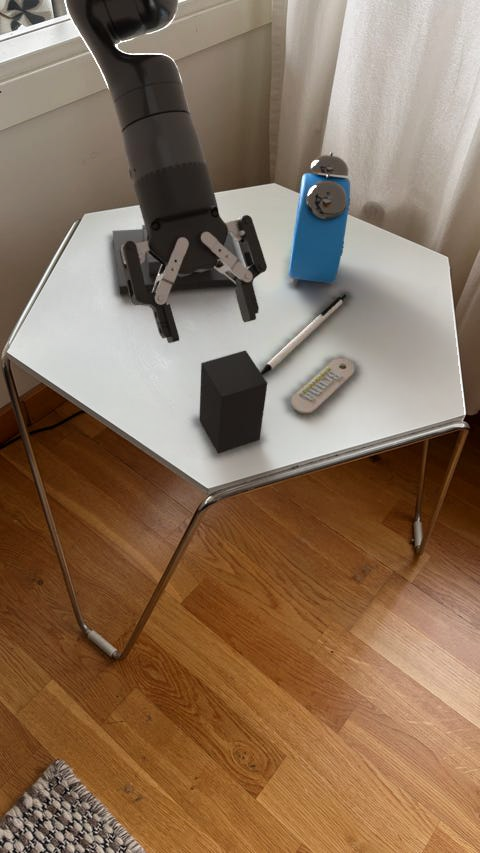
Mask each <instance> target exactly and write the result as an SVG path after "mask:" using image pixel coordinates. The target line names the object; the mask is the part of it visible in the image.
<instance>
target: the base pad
mask: <svg viewBox="0 0 480 853" xmlns="http://www.w3.org/2000/svg"><path fill="white" fill-rule="evenodd" d="M141 227H142V228H140V229H138V228H137V229H118V230H112V241H113V249H114V256H115V257H114V258H115V264H116V265H115V266H116V273H117V274H116V275H117V281H118V290H119V295H125V294H129V292H128V288H127V283H126V279H125V274H124V270H123V266H122V261H121V257H120V252H119V250H120V248H121V247H122V246H123V245H124V244H125V243H126V242H127V241H133V242H134V243H137V242H143V241H147V230H146V227H145V224H142V226H141ZM224 247H225V248H226V249H227V250H229V251H230V252H231V253H232V254H233V255H234V256H236V257H237V258H238V256H237V254H236V250H235V246H234V243H233V238H232V236H231V235H230V234H228V235H227V238H226V241H225V244H224ZM160 267H161V263H159V262H158V261H157V260H156V259H155V258H154V257H152V256H151V255H150V254H149V253H148V252H146V253H145V261H144V262H143V263H142V264H141V269H142V273H143V278H144V282H145V287H146V291H147V292H152V291H153V288H154V285H155V280H156V277H157V275H158V272H159V269H160ZM227 287H237V285H236V284H235V283H234V282H233V281H232V280H230V279H229V278H228V277H227V276H226V275H224V274H222V273H220V272H219V271H217V270H216V269H215V268H212V269H210V270H208V271H204V272H193V273H191V274H189V275H187V276H183V277H180V276H176V279H175V282H174V283H173V285H172V287H171V290H170V291H182V290H185V291H186V290H197V289H198V290H199V289H211V288H227Z"/></svg>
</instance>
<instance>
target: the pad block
mask: <svg viewBox="0 0 480 853" xmlns="http://www.w3.org/2000/svg"><path fill="white" fill-rule="evenodd" d="M267 388H268V382H267V379H265V377H264V375H262V374H261V371H260V369H259V368H258V366H257V365H256V364H255V362H254V361H253V359H252V358H251V356H250V354H249V353H248V351H247V350H242V351H238V352H235V353H231V354H228V355H224V356H220V357H217V358H214V359H210V360H207V361H204V362H201V363H200V394H199V397H200V398H199V419H198V420H199V422H200V424H201V426H202V428H203V430H204V431H205V433H206V435H207V437H208V439H209V440H210V442H211V444H212V445H213V447H214V449H215V451H216V452H217V454H222V453H224V452H227V451H230V450H233V449H235V448H239V447H242V446H245V445H247V444H251V443H253V442H257V441H260V440H261V433H262V425H263V418H264V412H265V404H266V397H267Z"/></svg>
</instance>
